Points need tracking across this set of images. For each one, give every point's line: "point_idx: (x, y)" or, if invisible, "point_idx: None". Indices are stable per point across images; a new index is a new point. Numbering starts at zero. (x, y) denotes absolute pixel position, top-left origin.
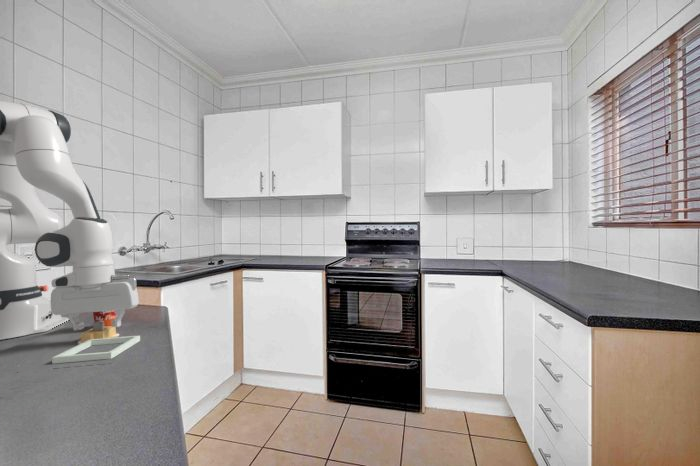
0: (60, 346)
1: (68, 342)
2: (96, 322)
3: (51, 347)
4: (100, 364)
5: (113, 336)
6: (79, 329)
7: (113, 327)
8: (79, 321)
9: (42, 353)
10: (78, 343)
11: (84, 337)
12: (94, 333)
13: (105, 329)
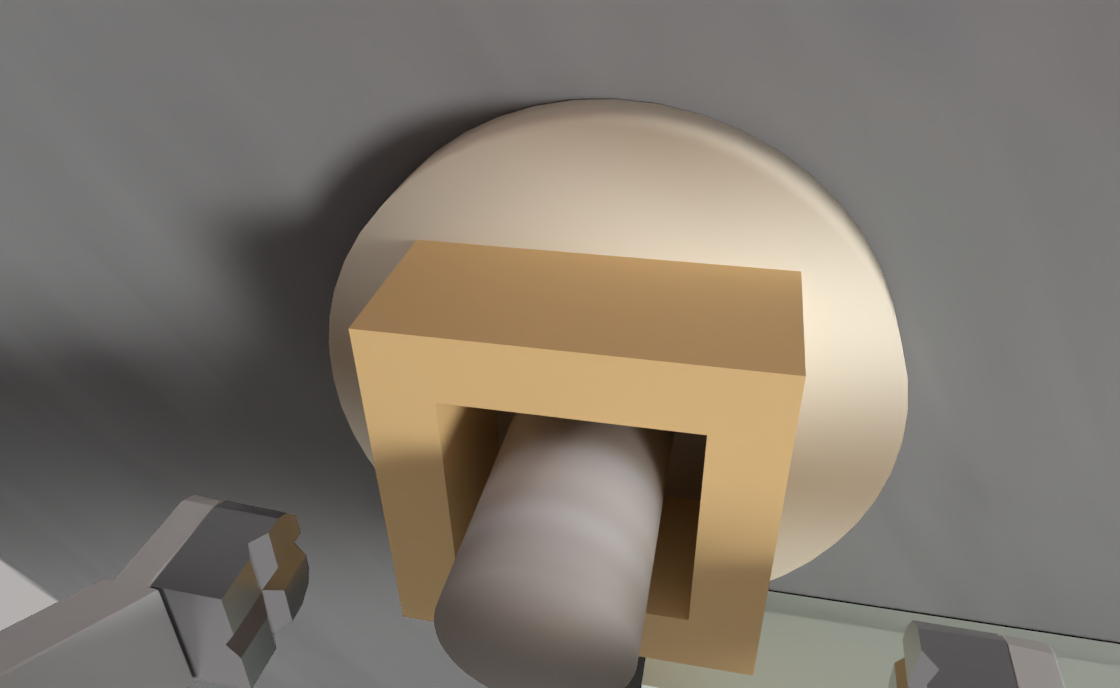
0: (126, 327)
1: (55, 168)
2: (504, 645)
3: (41, 327)
4: None
5: (817, 394)
6: (303, 593)
7: (792, 428)
8: (139, 614)
9: (165, 503)
10: None
11: None
12: None
13: (715, 560)
